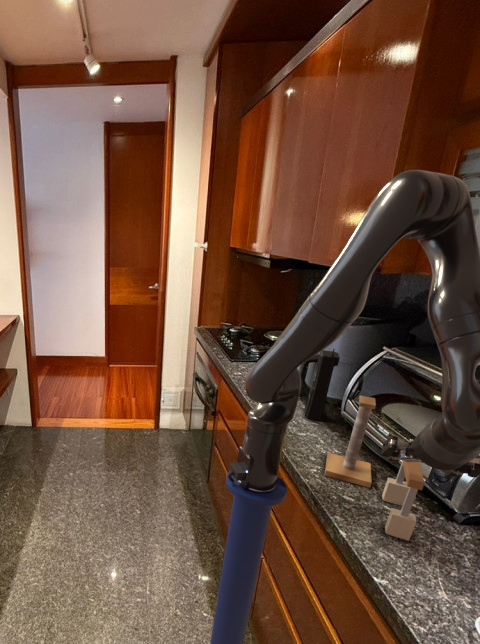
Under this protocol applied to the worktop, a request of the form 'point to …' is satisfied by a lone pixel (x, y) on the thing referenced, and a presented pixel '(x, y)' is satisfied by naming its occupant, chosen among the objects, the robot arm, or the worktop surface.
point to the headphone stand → (353, 451)
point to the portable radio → (321, 385)
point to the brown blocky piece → (403, 499)
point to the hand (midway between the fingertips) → (419, 465)
